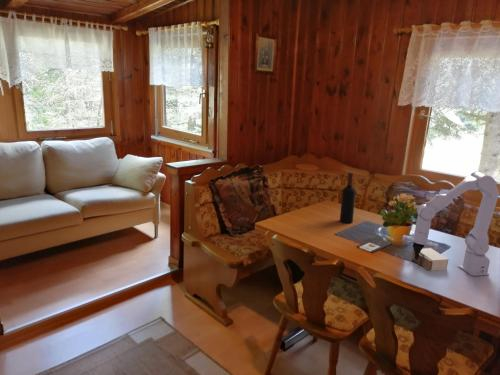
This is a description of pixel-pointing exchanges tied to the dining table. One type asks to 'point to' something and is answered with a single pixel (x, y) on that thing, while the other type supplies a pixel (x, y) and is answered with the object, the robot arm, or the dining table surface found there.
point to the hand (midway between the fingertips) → (416, 258)
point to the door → (418, 258)
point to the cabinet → (433, 260)
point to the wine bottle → (348, 202)
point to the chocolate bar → (374, 245)
